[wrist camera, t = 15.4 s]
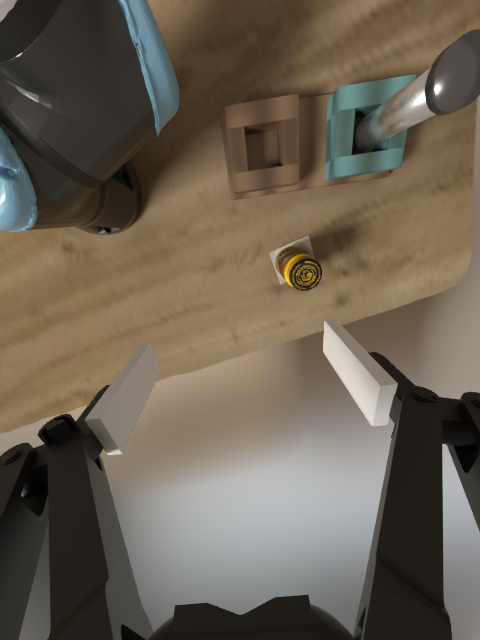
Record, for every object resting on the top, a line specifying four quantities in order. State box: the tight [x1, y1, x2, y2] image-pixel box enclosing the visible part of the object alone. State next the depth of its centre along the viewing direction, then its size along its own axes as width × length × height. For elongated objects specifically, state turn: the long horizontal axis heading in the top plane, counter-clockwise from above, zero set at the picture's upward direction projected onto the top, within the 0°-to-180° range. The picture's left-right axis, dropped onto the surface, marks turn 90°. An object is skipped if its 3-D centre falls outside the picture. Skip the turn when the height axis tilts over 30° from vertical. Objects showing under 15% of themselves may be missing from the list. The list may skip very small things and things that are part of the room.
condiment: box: [269, 235, 322, 291], centre depth 39 cm, size 7×8×12 cm
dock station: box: [220, 74, 417, 200], centre depth 34 cm, size 28×12×5 cm, turn 97°
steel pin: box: [352, 30, 480, 154], centre depth 27 cm, size 5×5×18 cm
